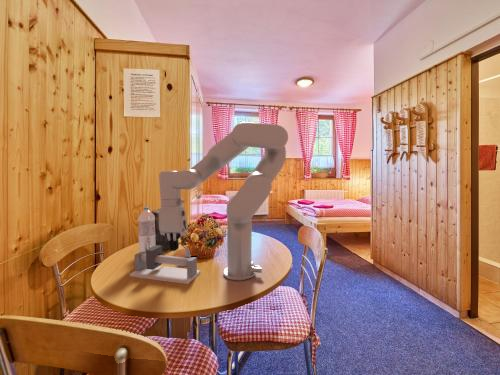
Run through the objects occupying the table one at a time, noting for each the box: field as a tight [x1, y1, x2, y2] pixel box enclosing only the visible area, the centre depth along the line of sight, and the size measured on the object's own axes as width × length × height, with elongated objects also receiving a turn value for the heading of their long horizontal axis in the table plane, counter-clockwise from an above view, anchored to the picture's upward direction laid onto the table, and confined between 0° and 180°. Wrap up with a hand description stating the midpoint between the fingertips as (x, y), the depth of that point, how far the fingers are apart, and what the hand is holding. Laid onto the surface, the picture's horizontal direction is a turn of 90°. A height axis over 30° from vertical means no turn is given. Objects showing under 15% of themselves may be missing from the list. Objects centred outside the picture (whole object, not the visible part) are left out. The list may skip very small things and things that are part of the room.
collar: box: [146, 245, 163, 270], centre depth 99 cm, size 3×6×8 cm, turn 166°
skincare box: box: [184, 246, 191, 258], centre depth 119 cm, size 6×4×12 cm
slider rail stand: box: [129, 252, 201, 285], centre depth 98 cm, size 25×10×8 cm, turn 76°
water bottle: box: [137, 206, 156, 254], centre depth 108 cm, size 7×7×25 cm
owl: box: [151, 208, 170, 253], centre depth 129 cm, size 13×13×20 cm
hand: (174, 249), depth 96 cm, fingers closed
